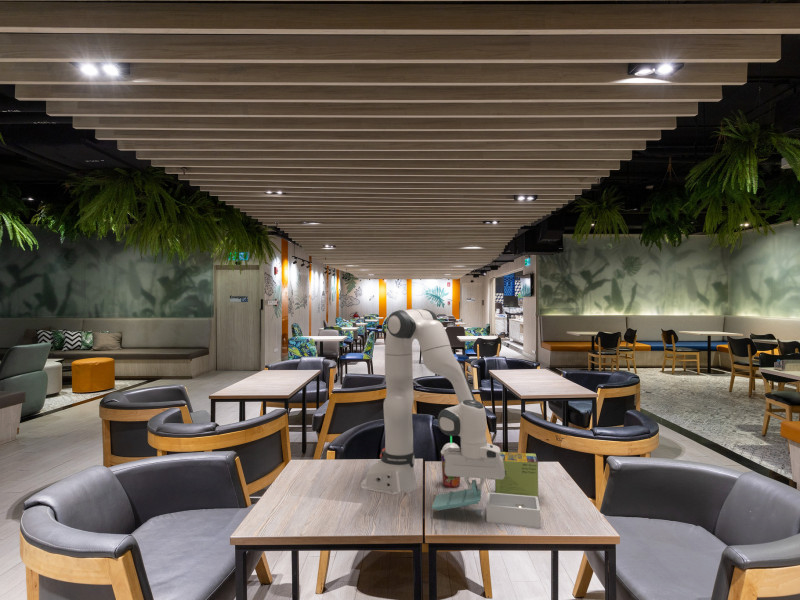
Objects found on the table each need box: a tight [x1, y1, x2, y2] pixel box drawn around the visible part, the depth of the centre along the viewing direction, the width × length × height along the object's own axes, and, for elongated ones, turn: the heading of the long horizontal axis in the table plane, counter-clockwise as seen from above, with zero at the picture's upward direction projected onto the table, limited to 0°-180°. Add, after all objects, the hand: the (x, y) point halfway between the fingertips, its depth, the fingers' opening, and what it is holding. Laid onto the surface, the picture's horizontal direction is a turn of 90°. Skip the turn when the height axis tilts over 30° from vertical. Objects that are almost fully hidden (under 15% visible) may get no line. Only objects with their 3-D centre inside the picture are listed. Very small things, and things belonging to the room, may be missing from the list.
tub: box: [485, 491, 541, 529], centre depth 155 cm, size 17×11×6 cm, turn 77°
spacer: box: [515, 504, 525, 508], centre depth 156 cm, size 3×3×3 cm
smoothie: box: [440, 436, 461, 489], centre depth 183 cm, size 8×8×20 cm
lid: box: [431, 478, 482, 511], centre depth 156 cm, size 16×10×6 cm, turn 77°
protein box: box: [494, 451, 539, 498], centre depth 172 cm, size 10×15×16 cm
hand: (474, 489), depth 155 cm, fingers closed on lid, 2 cm apart
